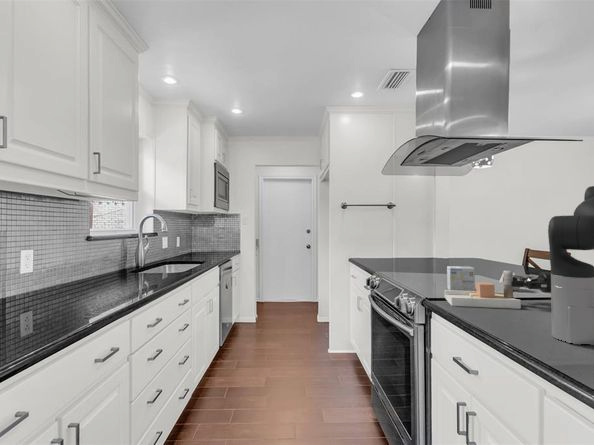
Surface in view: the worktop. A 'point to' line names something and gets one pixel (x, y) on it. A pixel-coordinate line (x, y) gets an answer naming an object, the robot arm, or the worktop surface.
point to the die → (503, 282)
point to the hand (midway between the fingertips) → (507, 281)
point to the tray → (479, 300)
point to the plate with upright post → (507, 287)
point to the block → (485, 289)
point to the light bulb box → (461, 278)
